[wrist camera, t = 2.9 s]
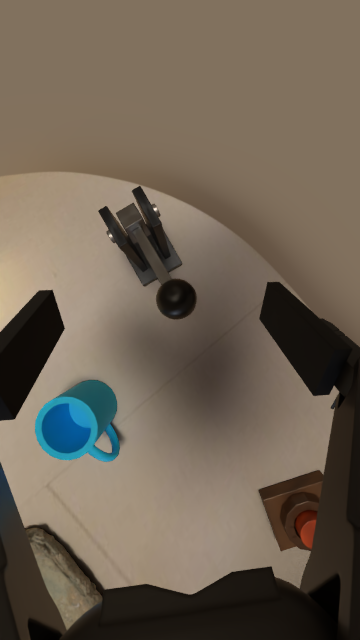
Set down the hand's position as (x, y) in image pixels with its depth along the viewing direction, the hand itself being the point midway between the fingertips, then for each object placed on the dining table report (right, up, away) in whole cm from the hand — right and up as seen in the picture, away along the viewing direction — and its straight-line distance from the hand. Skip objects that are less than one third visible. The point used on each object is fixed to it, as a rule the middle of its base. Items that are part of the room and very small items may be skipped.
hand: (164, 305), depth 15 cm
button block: (+19, -30, +22) cm, 42 cm away
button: (+19, -30, +19) cm, 40 cm away
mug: (-12, -16, +23) cm, 31 cm away
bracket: (-4, +10, +23) cm, 25 cm away
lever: (-1, +4, +10) cm, 11 cm away
